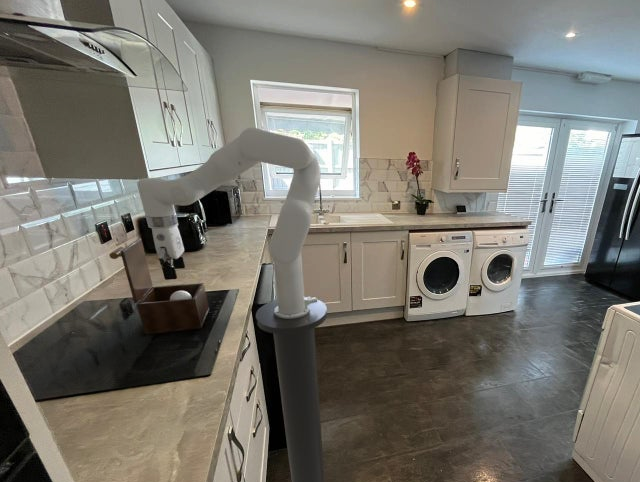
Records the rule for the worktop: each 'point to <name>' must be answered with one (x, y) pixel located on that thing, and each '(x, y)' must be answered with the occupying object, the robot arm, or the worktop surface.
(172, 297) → the lightbulb
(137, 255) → the lid
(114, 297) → the worktop surface
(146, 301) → the chest
